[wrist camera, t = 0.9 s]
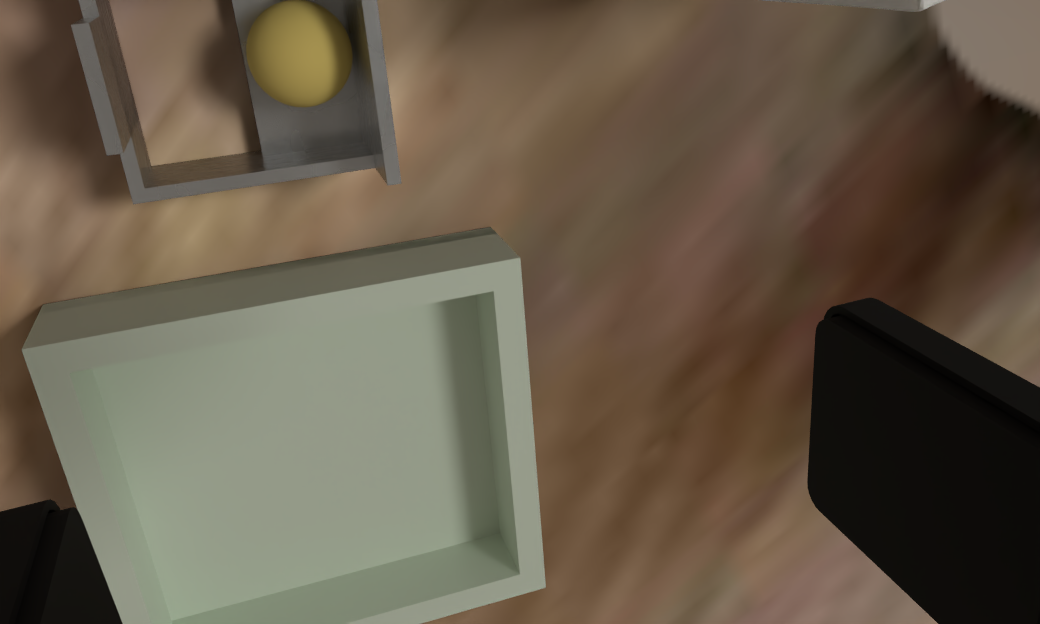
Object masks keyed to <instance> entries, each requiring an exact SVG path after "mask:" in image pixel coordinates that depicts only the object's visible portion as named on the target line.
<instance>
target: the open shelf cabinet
mask: <svg viewBox="0 0 1040 624" xmlns="http://www.w3.org/2000/svg"><path fill="white" fill-rule="evenodd" d="M282 1H287V0H232V4H233V9H234V14H235V19H236V24H237V29H238V34H239V39H240V44H241V49H242V54H243V59H244V64H245V69H246V74H247V79H248V84H249V89H250V94H251V99H252V104H253V109H254V114H255V119H256V124H257V129H258V134H259V139H260V145H261V150H262V151H257V152H250V153H243V154H235V155H228V156H221V157H214V158H207V159H200V160H193V161H186V162H178V163H171V164H164V165H157V166H151V164H150V160H149V156H148V153H147V149H146V145H145V141H144V137H143V133H142V129H141V125H140V121H139V117H138V113H137V109H136V106H135V102H134V98H133V94H132V90H131V86H130V82H129V78H128V74H127V70H126V66H125V62H124V58H123V55H122V51H121V47H120V43H119V39H118V35H117V31H116V27H115V23H114V19H113V15H112V11H111V7H110V4H109V0H79V4H80V8H81V11H82V15H83V18H82V19H80V20H78V21H77V22H75V23H73V24H71V27H72V31H73V34H74V38H75V42H76V45H77V49H78V52H79V56H80V60H81V63H82V67H83V71H84V74H85V78H86V82H87V85H88V89H89V92H90V96H91V100H92V103H93V107H94V111H95V114H96V118H97V122H98V125H99V129H100V132H101V136H102V140H103V143H104V147H105V151H106V154H107V156H108V155H116V154H120V157H121V160H122V164H123V168H124V171H125V175H126V179H127V183H128V186H129V190H130V194H131V197H132V201H133V204H138V203H145V202H151V201H158V200H165V199H171V198H178V197H185V196H191V195H198V194H205V193H211V192H218V191H225V190H231V189H238V188H245V187H251V186H258V185H265V184H271V183H278V182H284V181H291V180H298V179H304V178H311V177H318V176H324V175H331V174H338V173H344V172H351V171H358V170H364V169H371V168H376V170H377V171H378V173H379V174H380V175H381V177H382V178H383V180H384V181H385V183H386V184H387V185H394V184H401V177H400V169H399V162H398V154H397V147H396V139H395V132H394V124H393V117H392V109H391V102H390V94H389V87H388V79H387V72H386V64H385V57H384V49H383V42H382V34H381V27H380V19H379V12H378V4H377V0H305V1H310V2H313V3H316V4H318V5H320V6H322V7H324V8H325V9H327V10H328V11H330V12H331V13H332V14H333V15H334V16H335V17H336V18H337V19H338V20H339V21H340V22H341V23H342V25H343V27H344V28H345V30H346V32H347V34H348V36H349V39H350V42H351V46H352V54H353V60H352V68H351V72H350V75H349V78H348V80H347V82H346V84H345V85H344V87H343V88H342V89H341V91H340V92H339V93H338V94H337V95H335V96H334V97H333V98H332V99H330V100H329V101H327V102H325V103H322V104H320V105H317V106H312V107H294V106H289V105H286V104H283V103H281V102H279V101H277V100H275V99H274V98H272V97H271V96H269V95H268V94H267V93H266V92H264V91H263V89H262V88H261V87H260V86H259V85H258V84H257V82H256V81H255V79H254V77H253V75H252V73H251V71H250V68H249V65H248V61H247V55H246V44H247V38H248V34H249V31H250V29H251V27H252V25H253V23H254V21H255V20H256V19H257V17H258V16H259V15H260V14H261V13H262V12H263V11H264V10H266V9H267V8H269V7H270V6H272V5H274V4H276V3H279V2H282Z"/></svg>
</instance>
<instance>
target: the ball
mask: <svg viewBox="0 0 1040 624" xmlns="http://www.w3.org/2000/svg"><path fill="white" fill-rule="evenodd" d="M246 55H247V61H248V65H249V68H250V71H251V73H252V75H253V77H254V79H255V81H256V82H257V84H258V85H259V86H260V87H261V88H262V89H263V91H264V92H266V93H267V94H268V95H269V96H271V97H272V98H274V99H275V100H277V101H279V102H281V103H283V104H286V105H289V106H294V107H312V106H317V105H320V104H322V103H325V102H327V101H329V100H330V99H332V98H333V97H334V96H335V95H337V94H338V93H339V92H340V91H341V89H342V88H343V87H344V85H345V84H346V82H347V80H348V78H349V75H350V72H351V68H352V60H353V54H352V46H351V42H350V39H349V36H348V34H347V32H346V30H345V28H344V27H343V25H342V23H341V22H340V21H339V20H338V19H337V18H336V17H335V16H334V15H333V14H332V13H331V12H330V11H328V10H327V9H325V8H324V7H322V6H320V5H318V4H316V3H313V2H310V1H305V0H287V1H282V2H279V3H276V4H274V5H272V6H270V7H269V8H267V9H266V10H264V11H263V12H262V13H261V14H260V15H259V16H258V17H257V19H256V20H255V21H254V23H253V25H252V27H251V29H250V31H249V34H248V38H247V44H246Z"/></svg>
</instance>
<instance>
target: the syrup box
mask: <svg viewBox="0 0 1040 624" xmlns="http://www.w3.org/2000/svg"><path fill="white" fill-rule="evenodd" d="M763 1H778V2H794V3H809V4H824V5H837V6H851V7H864V8H877V9H889V10H899V11H910V12H916V11H922V10H924V9H926V8H928V7H931V6H933V5H935V4H938V3H940V2H943V1H945V0H763Z"/></svg>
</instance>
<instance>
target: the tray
mask: <svg viewBox="0 0 1040 624" xmlns="http://www.w3.org/2000/svg"><path fill="white" fill-rule="evenodd" d="M22 352H23V355H24V358H25V361H26V364H27V367H28V370H29V372H30V375H31V378H32V381H33V384H34V387H35V390H36V392H37V395H38V398H39V401H40V404H41V407H42V410H43V412H44V415H45V418H46V421H47V424H48V427H49V430H50V432H51V435H52V438H53V441H54V444H55V447H56V450H57V452H58V455H59V458H60V461H61V464H62V467H63V470H64V472H65V475H66V478H67V481H68V484H69V487H70V490H71V492H72V495H73V498H74V501H75V504H76V507H77V510H78V512H79V513H80V515H81V517H82V520H83V522H84V525H85V527H86V530H87V533H88V535H89V538H90V540H91V543H92V546H93V548H94V551H95V553H96V556H97V559H98V561H99V564H100V566H101V569H102V571H103V574H104V577H105V579H106V582H107V584H108V587H109V590H110V592H111V595H112V597H113V600H114V603H115V605H116V608H117V610H118V613H119V615H120V618H121V621H122V623H123V624H421V623H424V622H428V621H431V620H435V619H438V618H442V617H445V616H449V615H452V614H456V613H459V612H463V611H466V610H470V609H473V608H476V607H480V606H483V605H487V604H490V603H494V602H497V601H501V600H504V599H508V598H511V597H515V596H518V595H522V594H525V593H529V592H532V591H536V590H539V589H542V588H546V584H545V571H544V558H543V546H542V533H541V520H540V507H539V494H538V481H537V468H536V455H535V442H534V430H533V417H532V404H531V391H530V378H529V365H528V352H527V339H526V326H525V314H524V301H523V288H522V275H521V262H520V257H519V256H518V255H517V254H516V253H515V252H514V251H513V250H512V249H511V248H510V247H509V246H508V245H507V243H506V242H505V241H504V240H503V239H502V238H501V237H500V236H499V235H498V234H497V233H496V232H495V231H494V230H493V229H492V228H491V227H488V228H482V229H476V230H471V231H465V232H459V233H453V234H447V235H442V236H436V237H430V238H424V239H419V240H413V241H407V242H401V243H395V244H390V245H384V246H378V247H372V248H367V249H361V250H355V251H349V252H344V253H338V254H332V255H326V256H320V257H315V258H309V259H303V260H297V261H292V262H286V263H280V264H274V265H268V266H263V267H257V268H251V269H245V270H240V271H234V272H228V273H222V274H217V275H211V276H205V277H199V278H193V279H188V280H182V281H176V282H170V283H165V284H159V285H153V286H147V287H141V288H136V289H130V290H124V291H118V292H113V293H107V294H101V295H95V296H90V297H84V298H78V299H72V300H66V301H61V302H55V303H49V304H43V306H42V308H41V310H40V312H39V314H38V316H37V318H36V320H35V322H34V324H33V327H32V329H31V331H30V333H29V335H28V337H27V339H26V341H25V343H24V345H23V347H22Z"/></svg>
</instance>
